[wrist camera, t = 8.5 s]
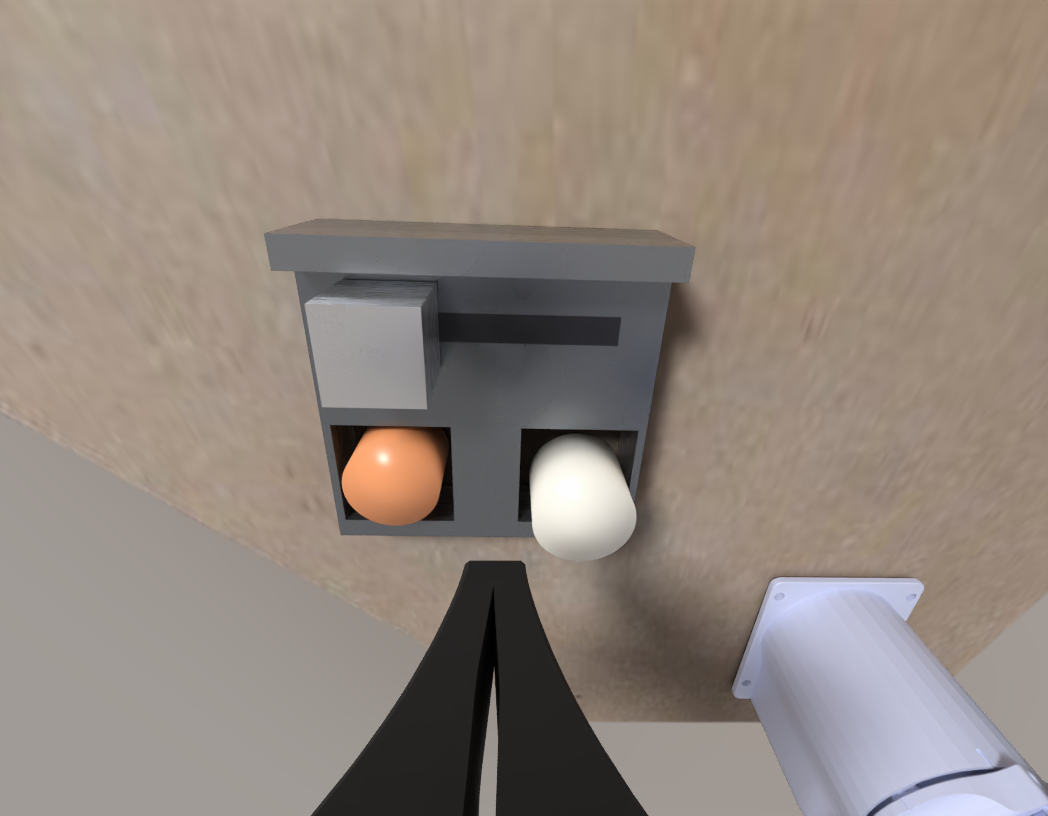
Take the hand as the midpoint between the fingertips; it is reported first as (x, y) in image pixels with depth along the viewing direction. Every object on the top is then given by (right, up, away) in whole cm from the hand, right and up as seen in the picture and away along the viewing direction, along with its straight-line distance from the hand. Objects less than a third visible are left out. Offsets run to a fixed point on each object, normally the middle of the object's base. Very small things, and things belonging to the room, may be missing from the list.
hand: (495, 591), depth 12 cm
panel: (-1, +5, +8) cm, 10 cm away
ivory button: (+3, +2, +8) cm, 8 cm away
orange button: (-4, +3, +9) cm, 10 cm away
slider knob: (-4, +7, +4) cm, 9 cm away
